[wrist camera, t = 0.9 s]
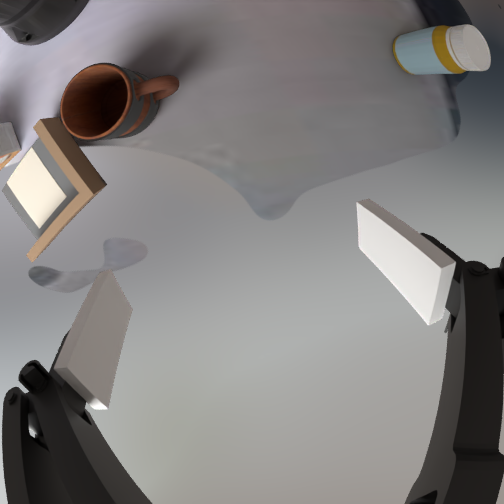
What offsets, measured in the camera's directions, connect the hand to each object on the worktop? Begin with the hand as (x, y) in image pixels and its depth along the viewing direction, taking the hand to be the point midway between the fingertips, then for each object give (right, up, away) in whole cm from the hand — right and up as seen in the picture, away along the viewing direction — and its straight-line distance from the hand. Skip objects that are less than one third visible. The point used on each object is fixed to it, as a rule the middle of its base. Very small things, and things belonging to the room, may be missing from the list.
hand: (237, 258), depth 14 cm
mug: (-13, +19, +16) cm, 28 cm away
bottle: (+25, +31, +16) cm, 43 cm away
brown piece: (-29, +10, +18) cm, 36 cm away
